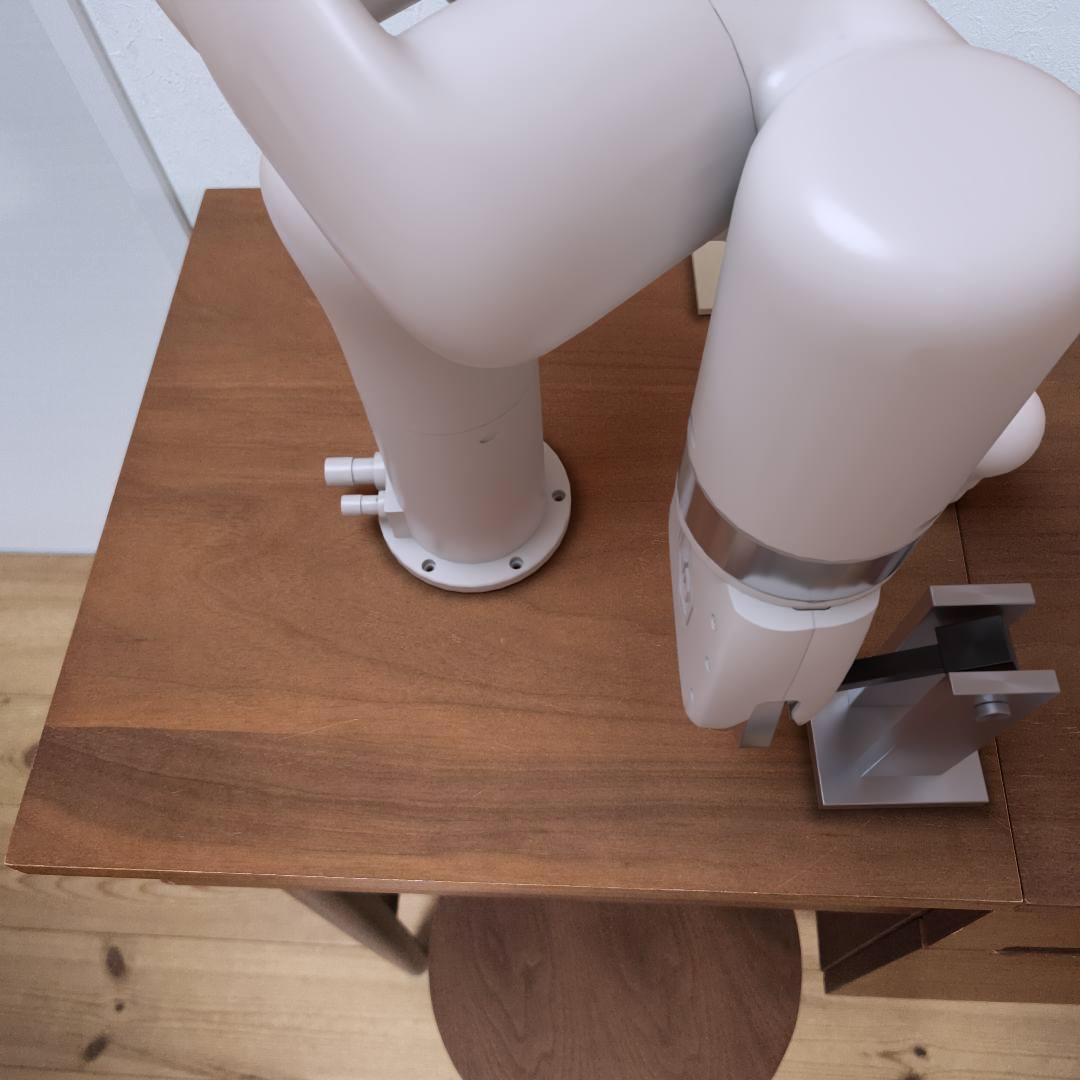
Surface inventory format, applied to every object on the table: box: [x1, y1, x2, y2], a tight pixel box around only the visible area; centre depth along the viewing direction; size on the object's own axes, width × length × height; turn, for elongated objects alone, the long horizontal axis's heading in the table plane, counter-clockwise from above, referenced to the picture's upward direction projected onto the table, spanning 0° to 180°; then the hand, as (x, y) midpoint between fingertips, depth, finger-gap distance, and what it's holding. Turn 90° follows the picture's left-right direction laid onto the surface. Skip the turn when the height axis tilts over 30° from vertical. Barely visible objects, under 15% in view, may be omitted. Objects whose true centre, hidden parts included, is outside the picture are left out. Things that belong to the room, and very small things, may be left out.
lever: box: [710, 614, 1021, 732], centre depth 45 cm, size 15×3×3 cm, turn 91°
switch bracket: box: [805, 582, 1061, 811], centre depth 47 cm, size 9×8×16 cm
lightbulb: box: [949, 391, 1047, 504], centre depth 56 cm, size 6×6×11 cm
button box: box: [690, 241, 726, 316], centre depth 69 cm, size 12×8×2 cm, turn 91°
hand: (717, 668), depth 45 cm, fingers closed
